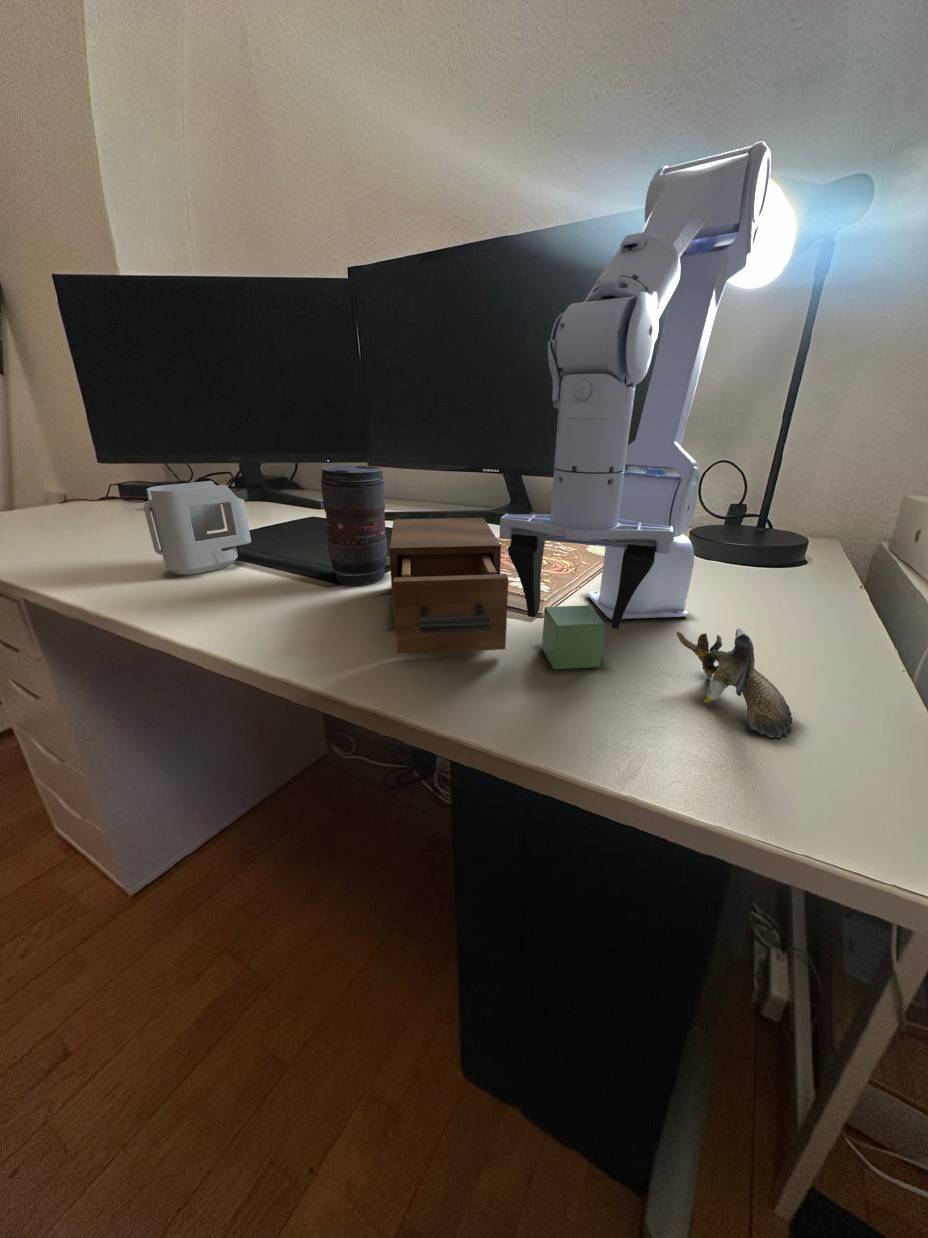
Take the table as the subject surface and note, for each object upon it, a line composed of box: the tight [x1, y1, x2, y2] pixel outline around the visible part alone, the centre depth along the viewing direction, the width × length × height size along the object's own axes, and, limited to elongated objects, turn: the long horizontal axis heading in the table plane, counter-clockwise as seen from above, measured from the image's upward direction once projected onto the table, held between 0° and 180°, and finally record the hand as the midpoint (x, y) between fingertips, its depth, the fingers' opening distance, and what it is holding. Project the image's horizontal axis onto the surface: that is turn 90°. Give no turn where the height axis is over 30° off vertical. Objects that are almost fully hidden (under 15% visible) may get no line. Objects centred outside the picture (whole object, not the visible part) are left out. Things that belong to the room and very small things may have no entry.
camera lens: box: [320, 464, 388, 586], centre depth 66 cm, size 8×8×15 cm
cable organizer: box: [143, 480, 252, 576], centre depth 71 cm, size 7×12×12 cm, turn 134°
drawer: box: [393, 553, 509, 655], centre depth 49 cm, size 17×10×7 cm, turn 6°
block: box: [541, 604, 606, 670], centre depth 47 cm, size 4×4×4 cm
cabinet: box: [388, 517, 502, 630], centre depth 59 cm, size 14×12×9 cm
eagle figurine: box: [676, 627, 793, 739], centre depth 40 cm, size 8×7×9 cm
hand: (573, 618), depth 46 cm, fingers open, 7 cm apart
